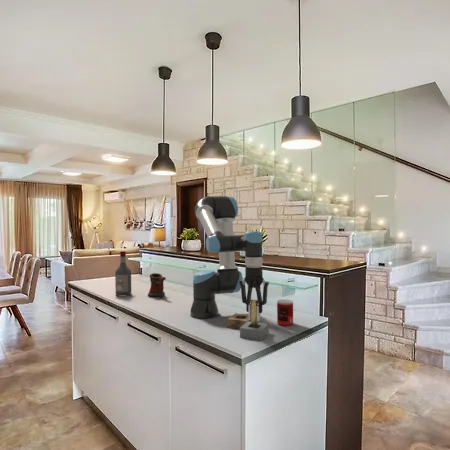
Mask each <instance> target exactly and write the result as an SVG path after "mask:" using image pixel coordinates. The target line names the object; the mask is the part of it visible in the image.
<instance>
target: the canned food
mask: <svg viewBox="0 0 450 450" xmlns="http://www.w3.org/2000/svg"><path fill="white" fill-rule="evenodd" d="M276 311H277V312H276V319H277V320H276V321H277V322H276V323H277V325H278V326H280V327H291V326H293V325H294V301H293V300H290V299H278V300H277V301H276Z"/></svg>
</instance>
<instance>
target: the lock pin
mask: <svg viewBox="0 0 450 450" xmlns="http://www.w3.org/2000/svg"><path fill="white" fill-rule="evenodd" d="M250 304H251V327H252V328H258V323H259V321H257V305H258V299H251V303H250Z"/></svg>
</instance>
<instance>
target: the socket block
mask: <svg viewBox="0 0 450 450" xmlns="http://www.w3.org/2000/svg"><path fill="white" fill-rule="evenodd" d="M269 325H270V324H269V323H266V322H265V323H264V322H258V328H252V327H251V322H249V321H247V322H246V323H245V324H244V325H243V326H242V327H240V329H239V338H245V339H250V340H257V341H263V340H264V339H265V338H266V337H267V336H268V334H269V333H270V331H269V329H270V327H269Z"/></svg>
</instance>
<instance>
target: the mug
mask: <svg viewBox="0 0 450 450" xmlns="http://www.w3.org/2000/svg"><path fill="white" fill-rule="evenodd" d="M149 278H150V279H149V281H150V287H149V288H150V289H149V291H148V292H147V297H148V298H151V297H152V299H153V298H154V299H155V298H156V299H157V297H158V298H161V299H163V297H165V295H166V293H165V291H164V281H165V280H166V279H167V278H166V277H165V276H163V274H161V273H156V272H153V273H151V274H149Z"/></svg>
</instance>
